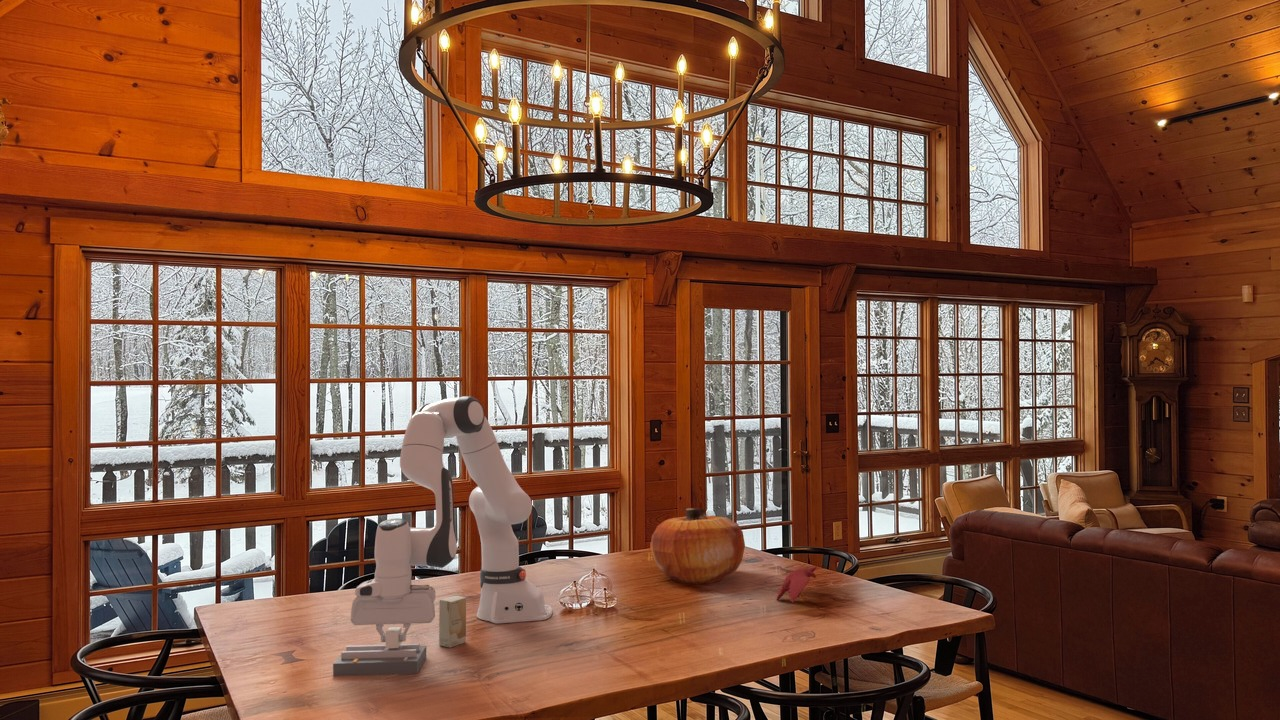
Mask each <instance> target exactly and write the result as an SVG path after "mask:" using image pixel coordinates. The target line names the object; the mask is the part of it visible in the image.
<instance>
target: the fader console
mask: <svg viewBox="0 0 1280 720" xmlns="http://www.w3.org/2000/svg"><path fill="white" fill-rule="evenodd" d="M400 646H403V650H385V648H386V644H362V645H360V644H359V645H346V647H345V650H343V651H341V652H340V654H341V655H339V656H338V658H337V659H336V660H335V661H334V662H333V664H332V668H333V669H332V676H333V677H348V676H349V677H350V676H352V677H353V676H380V675H381V676H383V675H385V676H386V675H387V676H388V675H389V676H390V675H413V674H414V675H416V674H419V673H418V672H420V669H421V668H422V666H423V664H424V663H425V661H426V659H427V645H421V643H401V644H400Z"/></svg>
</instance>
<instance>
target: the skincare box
mask: <svg viewBox="0 0 1280 720" xmlns="http://www.w3.org/2000/svg"><path fill="white" fill-rule="evenodd" d="M438 608H439V611H438V613H439V615H438V617H439V618H438V619H439V620H438V621H439V623H438V624H439V626H438V627H439V629H438V646H442V647H447V648H453V647H456V646H460V645H462V644H465V643H466V642H467V597H465V596H461V595H460V596H459V595H453V596H449V597H445V598H441V599H439V607H438Z"/></svg>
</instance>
